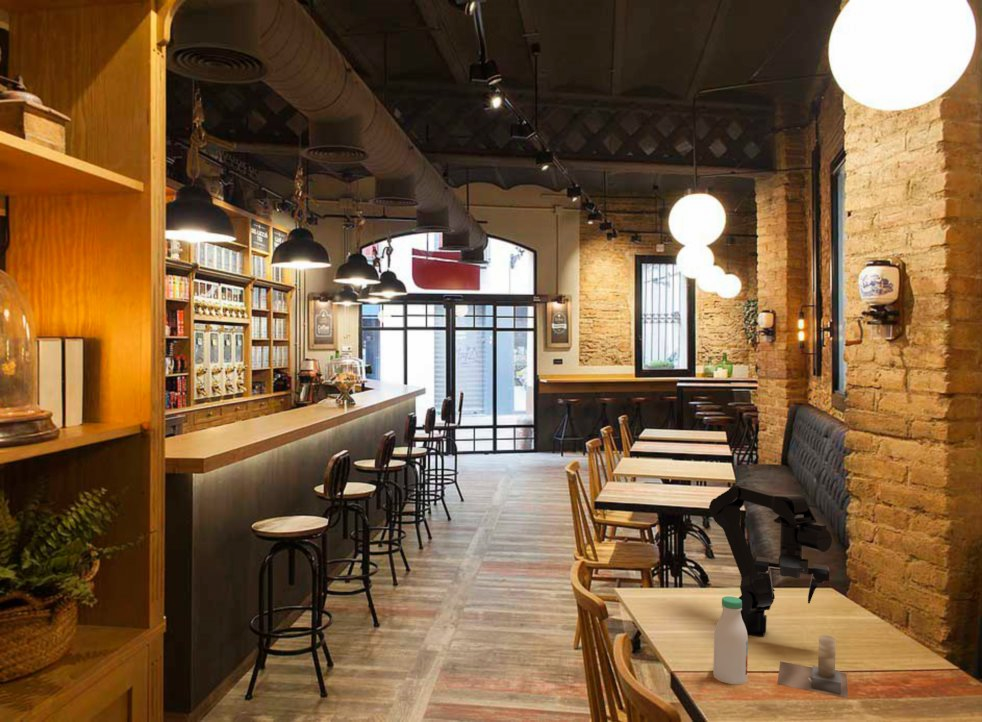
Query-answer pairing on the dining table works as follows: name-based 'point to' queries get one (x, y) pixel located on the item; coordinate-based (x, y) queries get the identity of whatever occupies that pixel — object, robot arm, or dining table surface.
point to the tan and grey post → (826, 667)
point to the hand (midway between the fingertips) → (790, 600)
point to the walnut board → (805, 679)
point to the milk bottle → (731, 644)
